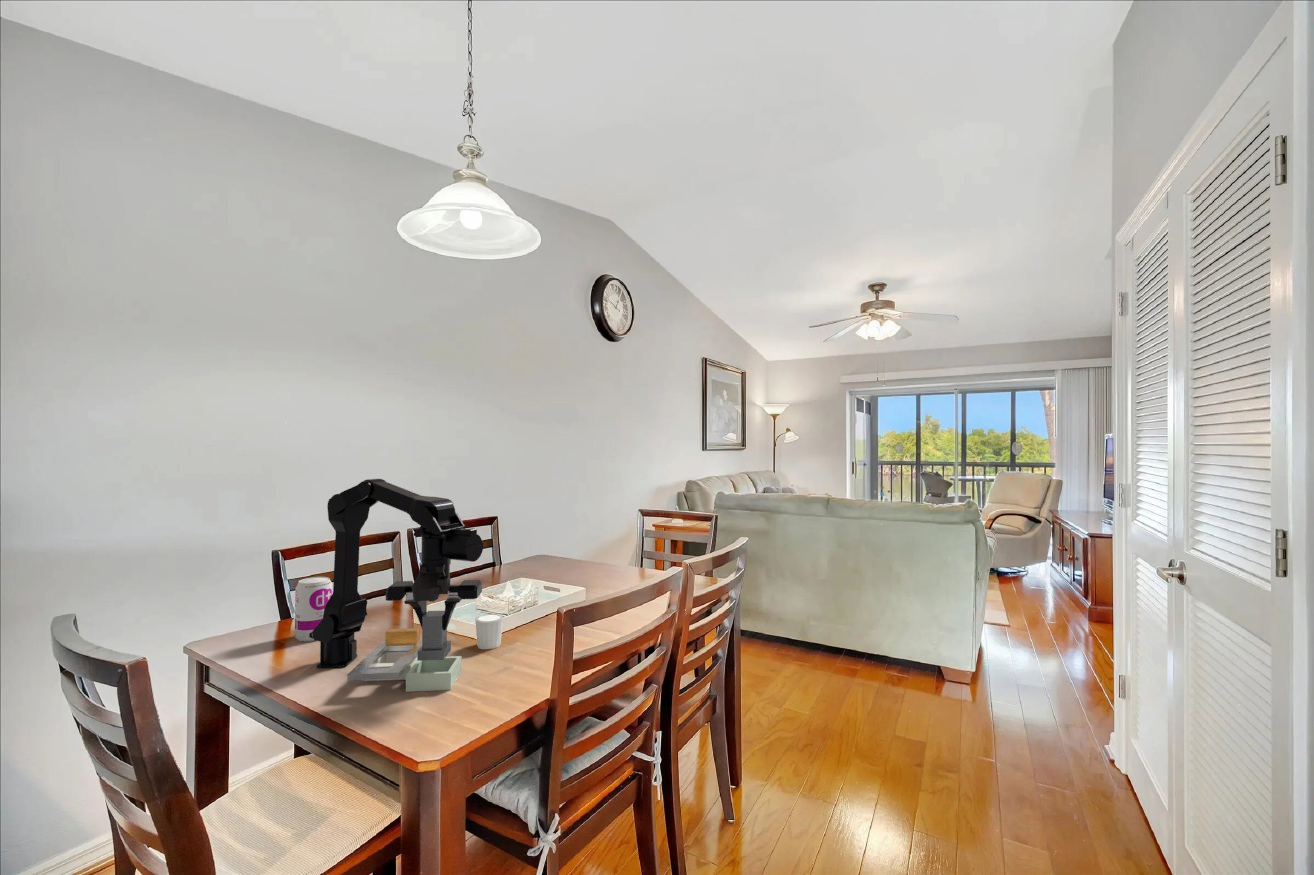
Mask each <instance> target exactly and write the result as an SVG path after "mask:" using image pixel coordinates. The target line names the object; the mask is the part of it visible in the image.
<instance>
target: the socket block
mask: <svg viewBox="0 0 1314 875" xmlns="http://www.w3.org/2000/svg"><path fill="white" fill-rule="evenodd" d="M408 652H409V651H385V652H384V653H383V654H382V655H381V656H380V657H379V658H378V663H377V664H376V665H375V666H374V667H373V668H372V669H381V668H391V666H392V665H393V664H394V663H395V662H396V661H397V660H398V659H399V658H400V657H401V656H405V655H406V654H407V653H408ZM417 658H418V656H417V657H416V658H415V660H414V661H413V662H412V663H411V664H410V666H409V667H408V668H407V669H406V670H405V672H404V673H403V674H402V675H401V676H400V677H399V678H397V679H370V680H361V681H362V682H370V681H371V682H374V681H375V682H376V681H378V682H379V681H399V680H400V681H402V680H405V681H406V674H407V673H408V672H409V670H410V669H411V668H412V667H413V665H414V664H415V663H416V662H417Z"/></svg>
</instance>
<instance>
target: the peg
mask: <svg viewBox="0 0 1314 875" xmlns="http://www.w3.org/2000/svg"><path fill="white" fill-rule="evenodd" d="M444 614H445V610H427V613H426V614H425V615H424V616H423V617H422V627H421V629H422V630H421V631H422V634H421V637H422V638H421V641H422V647H421V648H420V649H419V650H418V658H417V661H421V660H444V659H445V658H446V657H448V655H449V653H450V652H451V651H452V640H448V628H447V629H446V630H444Z"/></svg>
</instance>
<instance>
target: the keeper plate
mask: <svg viewBox="0 0 1314 875" xmlns="http://www.w3.org/2000/svg"><path fill="white" fill-rule="evenodd" d="M420 629H421V628H420V627H417V628H415V627H414V628H412V627H411V628H388V629H387V630H386V631H385V641H381V643H379V644H378V645H376V647H375V648H374V649H373V650H372V651H371V652H369V654H367V655H366V656H365V657H364V658H363V659H362V660H361V661H360V662H359V663H358V664H357V665H356V666H355V667H354V668H352V669H351V670H350V672H348V673H347V676H346V679H347V680H346V681H362V680H370V679H397V678H399V677H400V676H401V675H402V674H403V673H404V672H405V670H406V669H407V668H408V667H409V666H410V664H411V663H412V662H413V661H414V660H415V658H416V657H417V656H418V650H419V649H420V648H421V647H422V640H421V639H420V638H421V637H420V633H421V630H420ZM385 651H409V652H408V653H407V654H406V655H405V656H401V657H400V658H399V659H398V660H397V661H396V662H395V663H394V664H393V665H392V666H391V668H381V669H372V668H373V667H374V666H375V665H376V664H377V663H378V658H379V657H380V656H381V655H382V654H383V653H384V652H385Z"/></svg>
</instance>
